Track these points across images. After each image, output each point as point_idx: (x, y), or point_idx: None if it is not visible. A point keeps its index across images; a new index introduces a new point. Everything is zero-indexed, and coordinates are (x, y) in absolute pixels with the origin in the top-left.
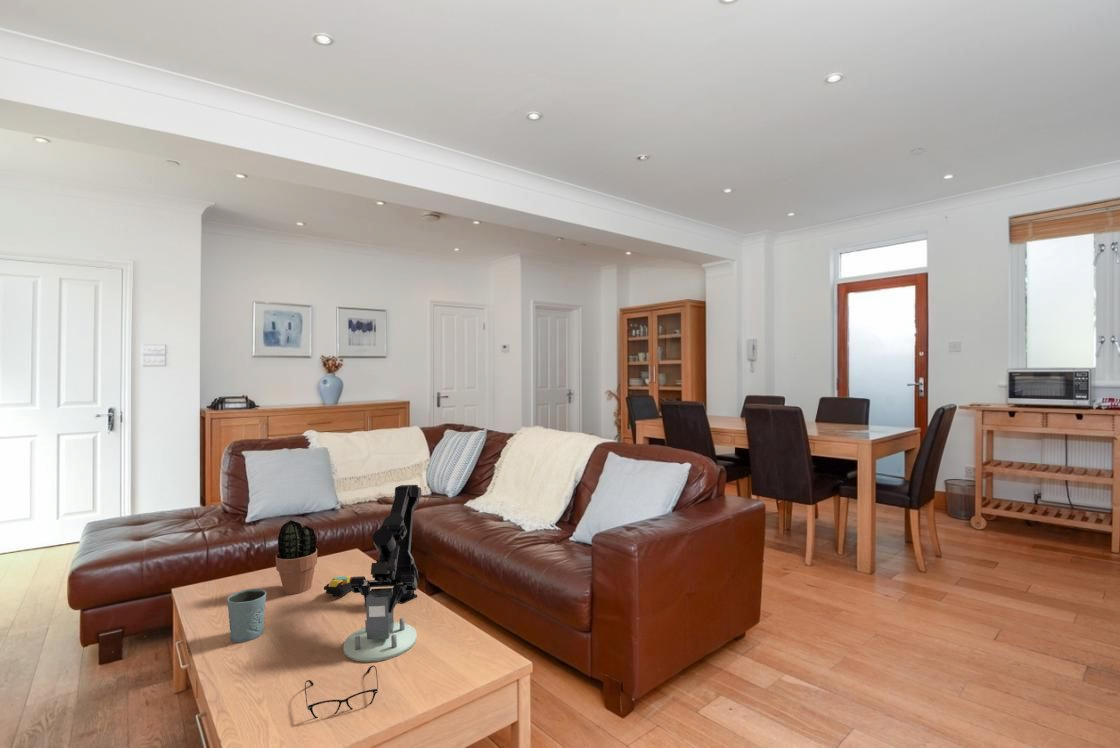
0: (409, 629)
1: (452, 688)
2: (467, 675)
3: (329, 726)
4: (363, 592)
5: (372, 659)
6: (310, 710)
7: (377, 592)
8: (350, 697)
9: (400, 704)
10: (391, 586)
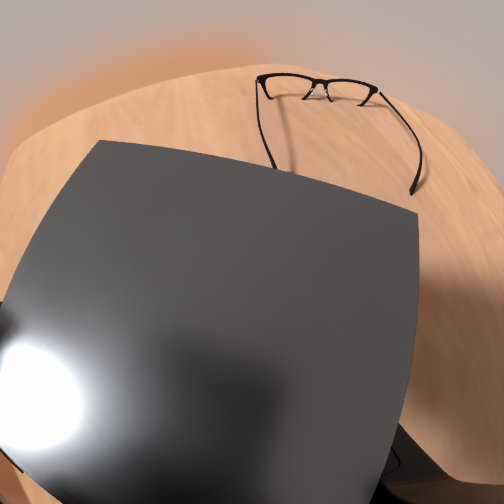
0: None
1: (122, 104)
2: (82, 129)
3: (331, 86)
4: (456, 483)
5: None
6: (371, 93)
7: (208, 384)
8: (308, 77)
9: (216, 87)
10: (3, 496)
